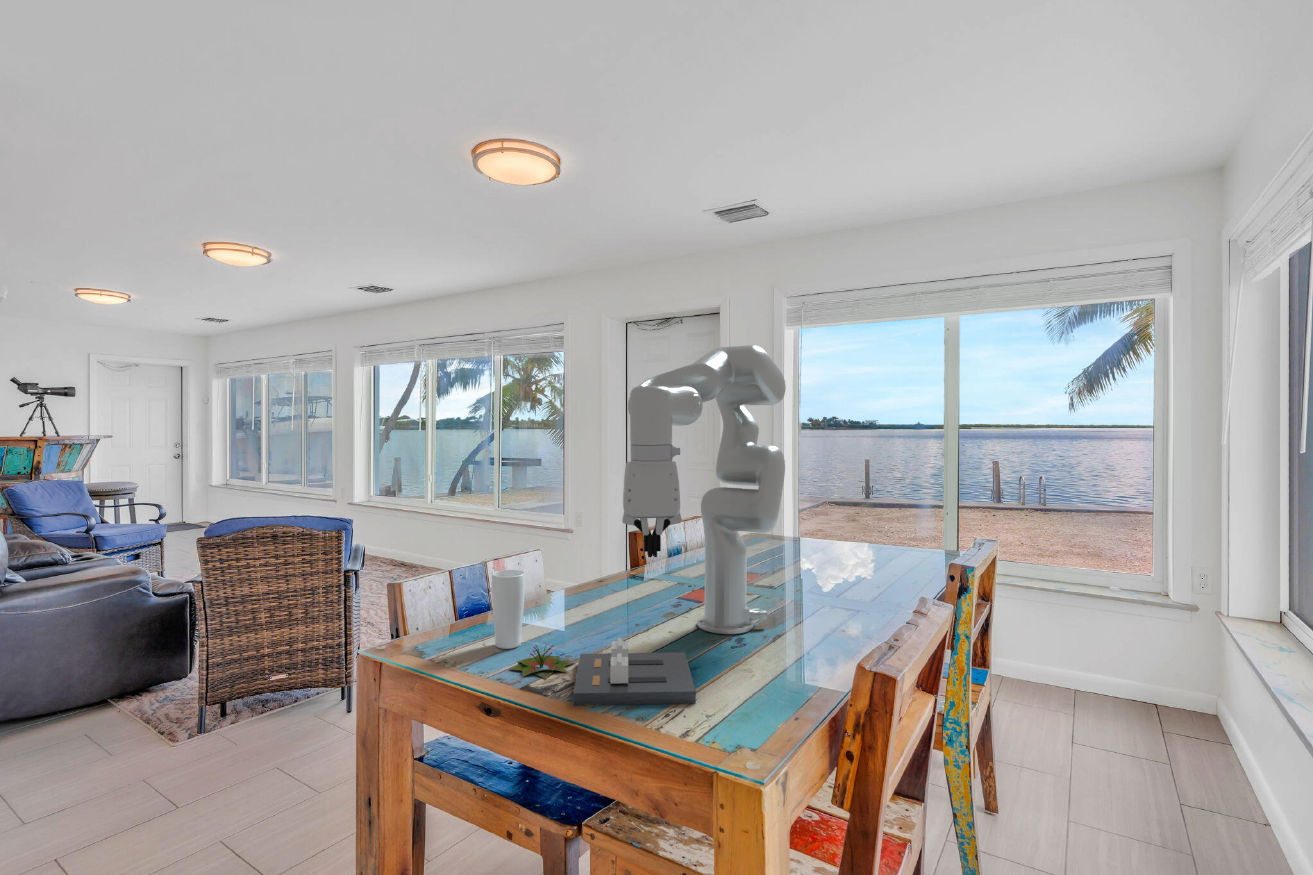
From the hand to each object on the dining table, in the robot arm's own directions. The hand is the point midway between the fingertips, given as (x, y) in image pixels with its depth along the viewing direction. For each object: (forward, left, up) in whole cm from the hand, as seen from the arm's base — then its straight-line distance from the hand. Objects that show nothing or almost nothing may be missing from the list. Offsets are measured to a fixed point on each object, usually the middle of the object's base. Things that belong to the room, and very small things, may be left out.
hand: (652, 555), depth 115 cm
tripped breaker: (+6, +7, -20) cm, 22 cm away
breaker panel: (+3, +3, -22) cm, 23 cm away
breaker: (+6, -1, -20) cm, 21 cm away
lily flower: (+20, -5, -23) cm, 31 cm away
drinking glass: (+29, -17, -22) cm, 40 cm away
